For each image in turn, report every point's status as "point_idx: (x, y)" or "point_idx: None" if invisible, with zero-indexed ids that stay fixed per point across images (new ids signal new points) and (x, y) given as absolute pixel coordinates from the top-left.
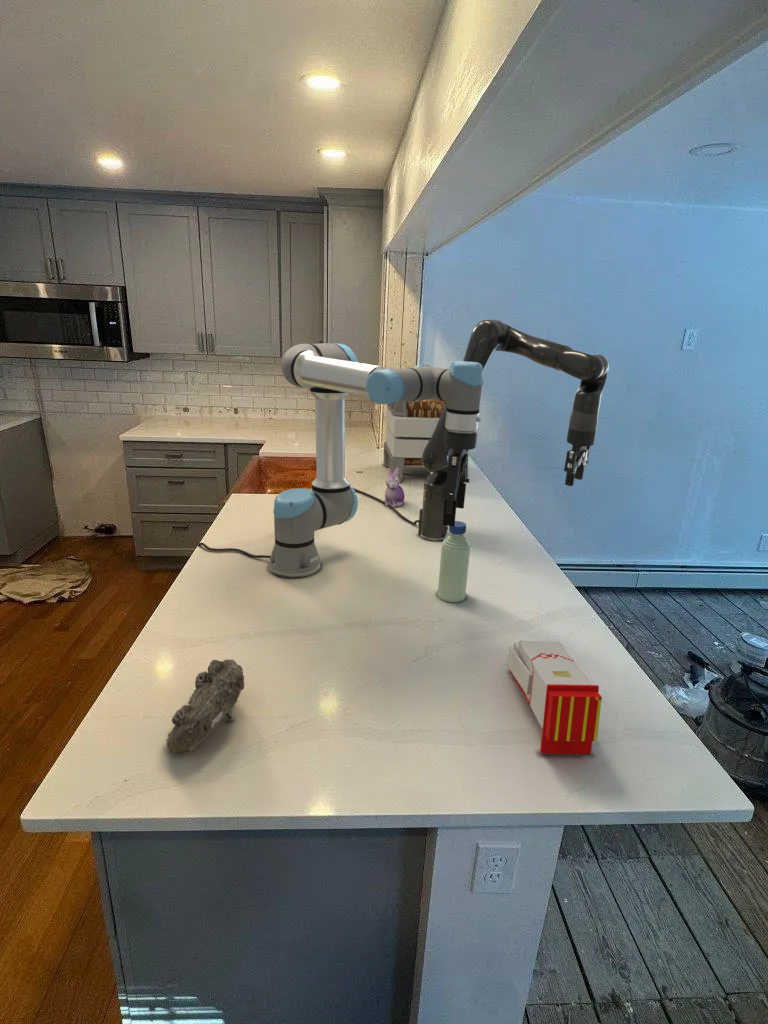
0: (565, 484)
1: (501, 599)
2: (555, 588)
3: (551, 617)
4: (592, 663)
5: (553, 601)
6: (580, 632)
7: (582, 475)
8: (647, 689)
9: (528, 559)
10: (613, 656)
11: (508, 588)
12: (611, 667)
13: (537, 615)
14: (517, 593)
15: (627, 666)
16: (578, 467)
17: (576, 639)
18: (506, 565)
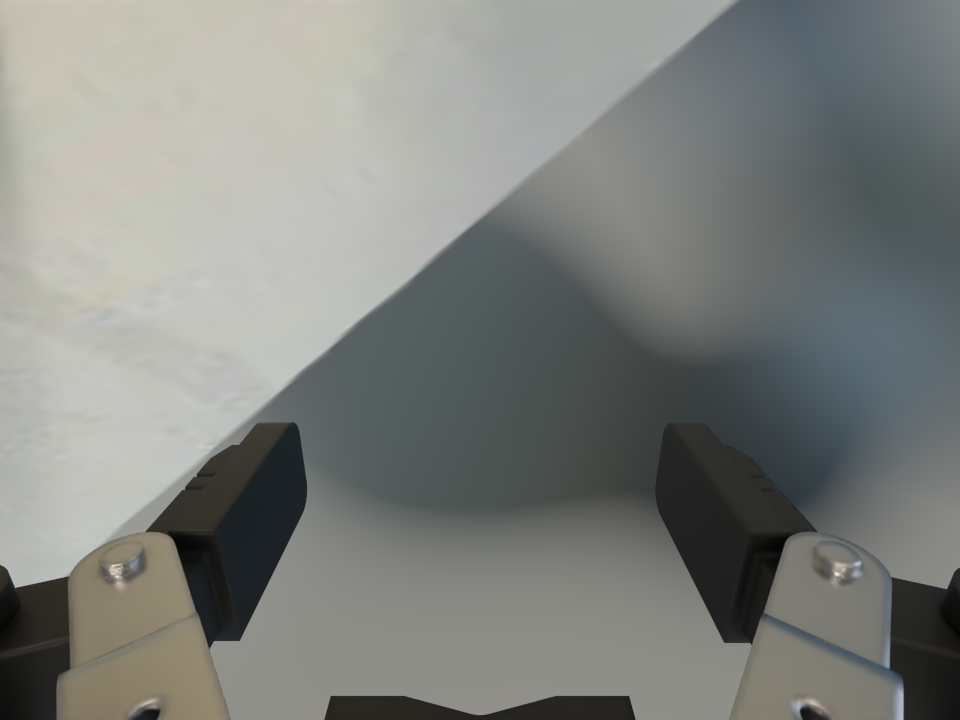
0: (264, 425)
1: (84, 147)
2: (336, 281)
3: (127, 343)
4: (10, 498)
5: (234, 311)
6: (122, 435)
7: (681, 543)
8: None
9: (531, 73)
10: (87, 526)
11: (188, 128)
12: (37, 533)
13: (99, 303)
14: (181, 178)
15: (75, 557)
16: (735, 565)
17: (77, 438)
18: (391, 8)
